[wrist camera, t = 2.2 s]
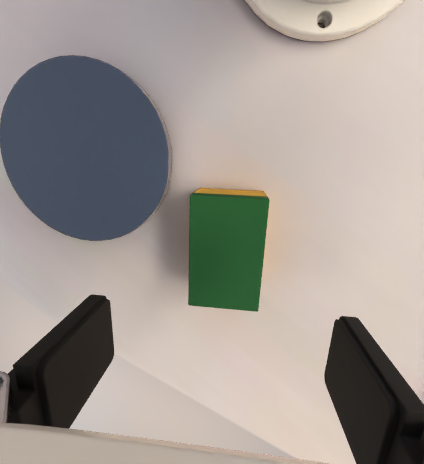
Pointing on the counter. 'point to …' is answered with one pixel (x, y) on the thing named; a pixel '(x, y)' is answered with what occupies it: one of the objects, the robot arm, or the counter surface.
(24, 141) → the plate
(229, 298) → the sponge
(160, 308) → the counter surface
